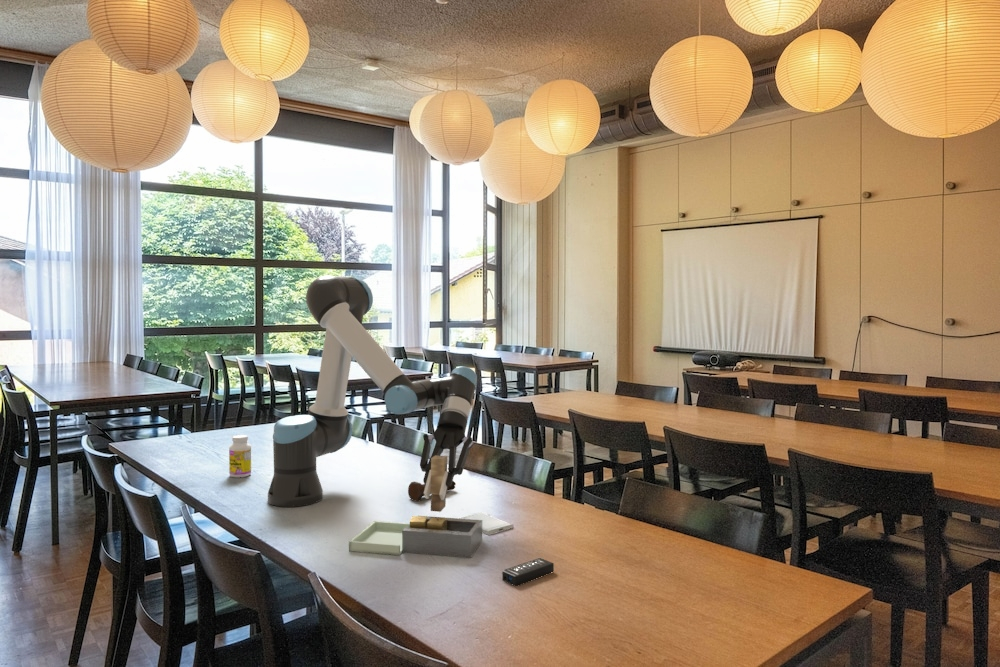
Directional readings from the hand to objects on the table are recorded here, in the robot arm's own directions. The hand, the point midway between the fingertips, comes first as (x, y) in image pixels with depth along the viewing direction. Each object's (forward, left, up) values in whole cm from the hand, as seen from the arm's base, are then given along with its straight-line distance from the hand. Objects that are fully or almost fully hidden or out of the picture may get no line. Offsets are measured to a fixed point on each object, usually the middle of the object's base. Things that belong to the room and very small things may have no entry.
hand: (433, 496), depth 166 cm
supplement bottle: (-78, +40, -9) cm, 88 cm away
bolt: (-10, +32, -10) cm, 35 cm away
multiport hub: (+27, -21, -10) cm, 35 cm away
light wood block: (-1, -8, -6) cm, 10 cm away
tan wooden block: (+3, -8, -6) cm, 11 cm away
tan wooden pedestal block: (0, +4, -4) cm, 6 cm away
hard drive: (+11, +9, -10) cm, 17 cm away
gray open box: (+5, -8, -9) cm, 13 cm away
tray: (-9, -8, -9) cm, 15 cm away
